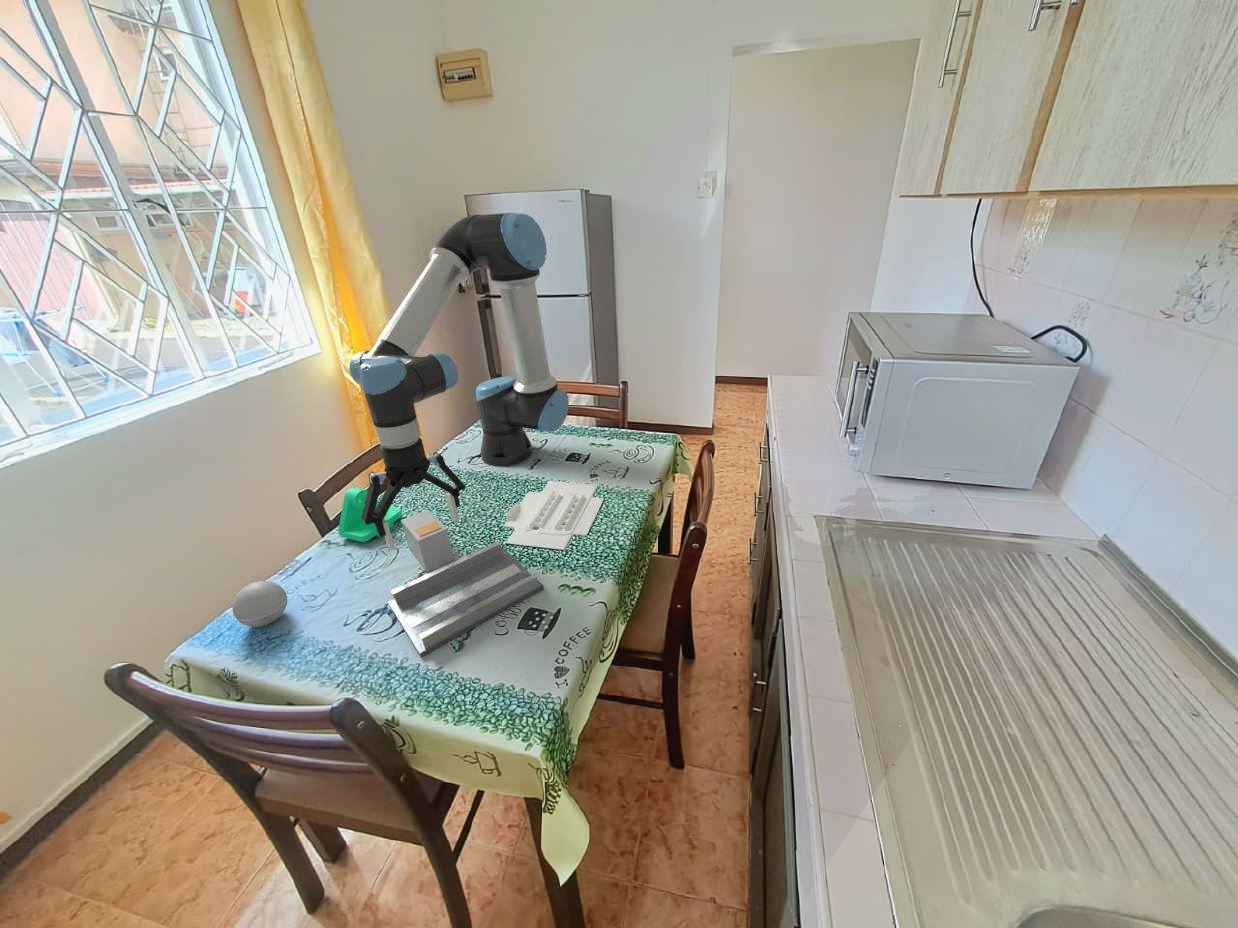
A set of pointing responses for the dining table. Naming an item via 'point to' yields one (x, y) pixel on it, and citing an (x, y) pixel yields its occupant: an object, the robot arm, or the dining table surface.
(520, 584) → the rail
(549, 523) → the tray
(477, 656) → the dining table surface
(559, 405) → the robot arm
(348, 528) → the camera mount
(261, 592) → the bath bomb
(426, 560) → the module
